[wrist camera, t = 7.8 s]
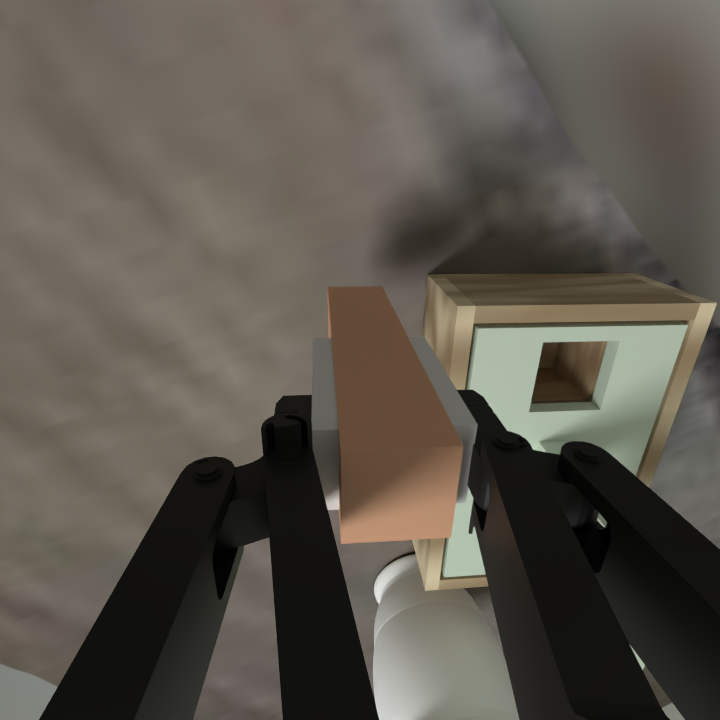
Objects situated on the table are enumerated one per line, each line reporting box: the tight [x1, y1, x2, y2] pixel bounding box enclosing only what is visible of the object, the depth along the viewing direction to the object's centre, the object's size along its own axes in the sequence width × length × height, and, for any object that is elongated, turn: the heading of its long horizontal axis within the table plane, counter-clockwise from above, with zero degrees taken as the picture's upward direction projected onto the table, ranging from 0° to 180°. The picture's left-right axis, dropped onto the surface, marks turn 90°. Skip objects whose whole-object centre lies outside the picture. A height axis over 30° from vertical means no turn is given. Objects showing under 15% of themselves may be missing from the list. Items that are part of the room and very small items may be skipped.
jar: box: [373, 554, 519, 720], centre depth 36 cm, size 11×10×15 cm
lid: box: [441, 320, 688, 670], centre depth 25 cm, size 19×12×10 cm, turn 179°
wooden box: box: [412, 273, 717, 591], centre depth 32 cm, size 22×15×7 cm
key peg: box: [328, 287, 463, 544], centre depth 18 cm, size 3×3×15 cm
